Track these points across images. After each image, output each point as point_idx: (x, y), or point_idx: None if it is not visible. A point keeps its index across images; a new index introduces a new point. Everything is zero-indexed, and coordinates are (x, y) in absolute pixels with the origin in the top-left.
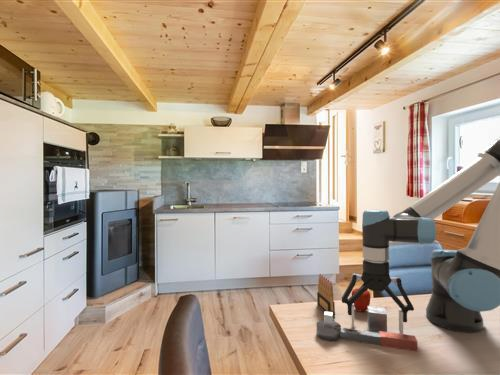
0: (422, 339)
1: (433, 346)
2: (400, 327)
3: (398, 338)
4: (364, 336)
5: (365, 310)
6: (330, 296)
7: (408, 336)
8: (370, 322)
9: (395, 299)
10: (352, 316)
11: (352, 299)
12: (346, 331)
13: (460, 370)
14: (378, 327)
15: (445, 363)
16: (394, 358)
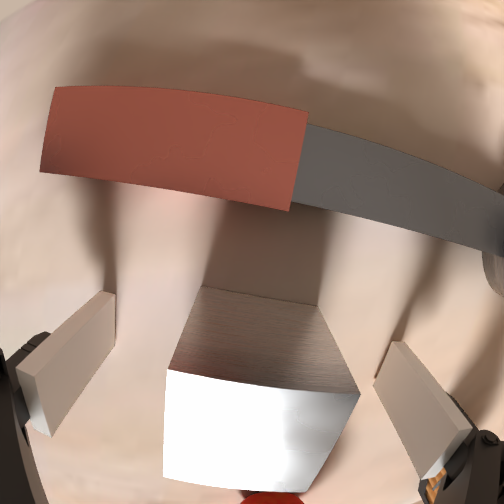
0: (25, 246)
1: (4, 178)
2: (96, 312)
3: (165, 96)
4: (410, 157)
5: (255, 495)
6: None
7: (79, 149)
8: (321, 339)
9: (7, 488)
10: (431, 380)
11: (493, 471)
12: (497, 207)
13: (13, 13)
14: (258, 313)
15: (28, 36)
16: (254, 4)
